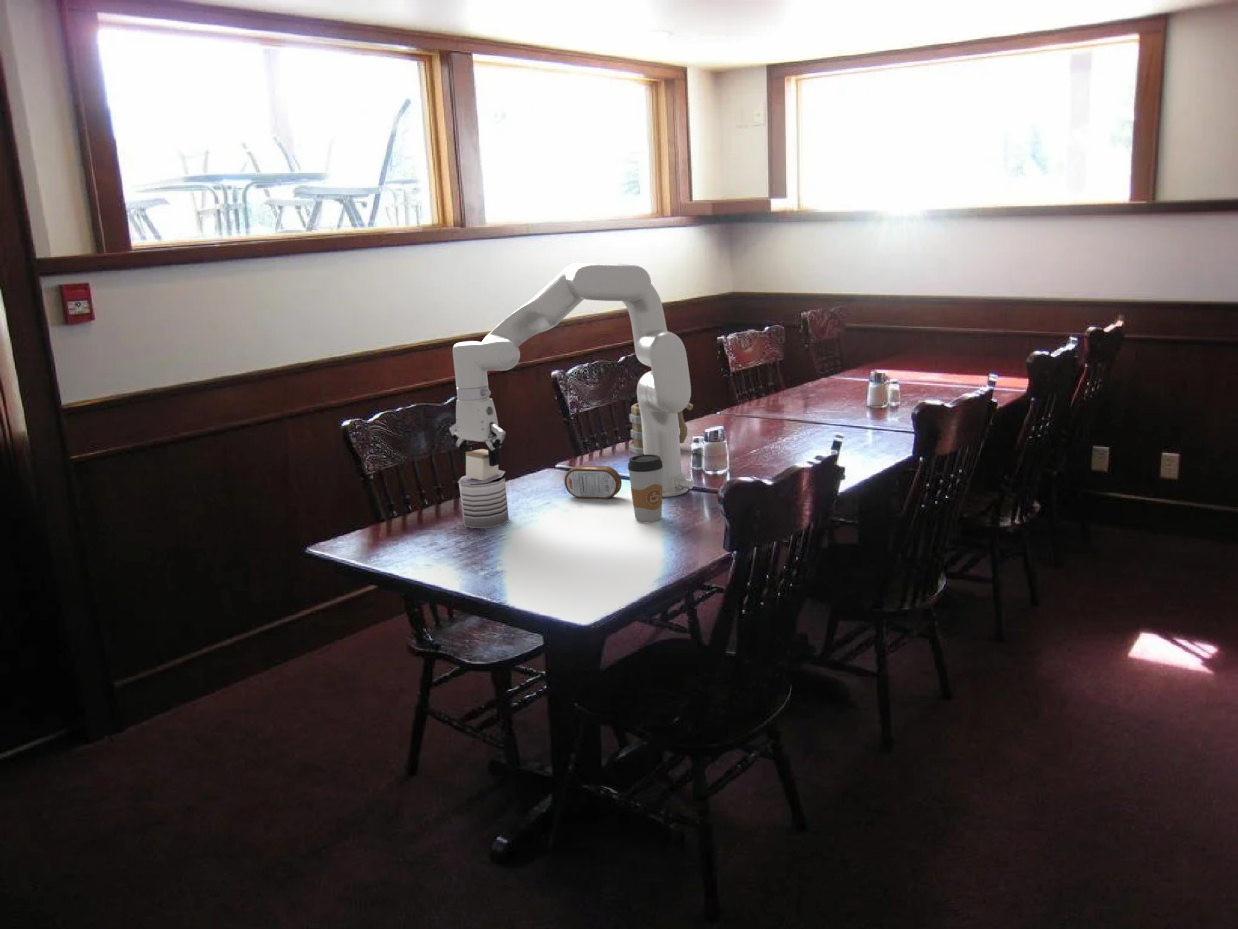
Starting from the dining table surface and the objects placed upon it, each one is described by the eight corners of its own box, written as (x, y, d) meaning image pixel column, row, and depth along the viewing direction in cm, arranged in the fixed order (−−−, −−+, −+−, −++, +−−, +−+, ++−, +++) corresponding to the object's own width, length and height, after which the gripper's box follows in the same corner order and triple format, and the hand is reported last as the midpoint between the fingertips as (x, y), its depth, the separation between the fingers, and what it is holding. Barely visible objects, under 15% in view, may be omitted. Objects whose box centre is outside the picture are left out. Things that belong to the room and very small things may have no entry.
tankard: (624, 454, 321) (621, 405, 318) (639, 444, 332) (636, 397, 329) (687, 456, 314) (685, 405, 310) (700, 446, 325) (698, 397, 321)
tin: (623, 497, 275) (620, 465, 273) (619, 500, 272) (616, 468, 270) (568, 495, 280) (566, 464, 278) (564, 498, 277) (561, 467, 275)
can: (506, 527, 256) (501, 479, 253) (459, 530, 256) (454, 482, 253) (511, 514, 267) (507, 467, 264) (466, 516, 267) (461, 470, 264)
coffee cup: (641, 526, 249) (637, 464, 246) (625, 518, 256) (620, 457, 253) (672, 519, 253) (668, 458, 249) (655, 511, 260) (651, 452, 256)
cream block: (498, 476, 259) (498, 452, 258) (482, 480, 255) (482, 455, 254) (481, 473, 262) (482, 448, 261) (465, 476, 258) (465, 452, 257)
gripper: (510, 392, 252) (517, 462, 256) (457, 389, 262) (464, 456, 266) (489, 398, 246) (496, 470, 250) (435, 394, 256) (443, 463, 260)
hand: (480, 463), depth 258 cm, fingers open, 9 cm apart
